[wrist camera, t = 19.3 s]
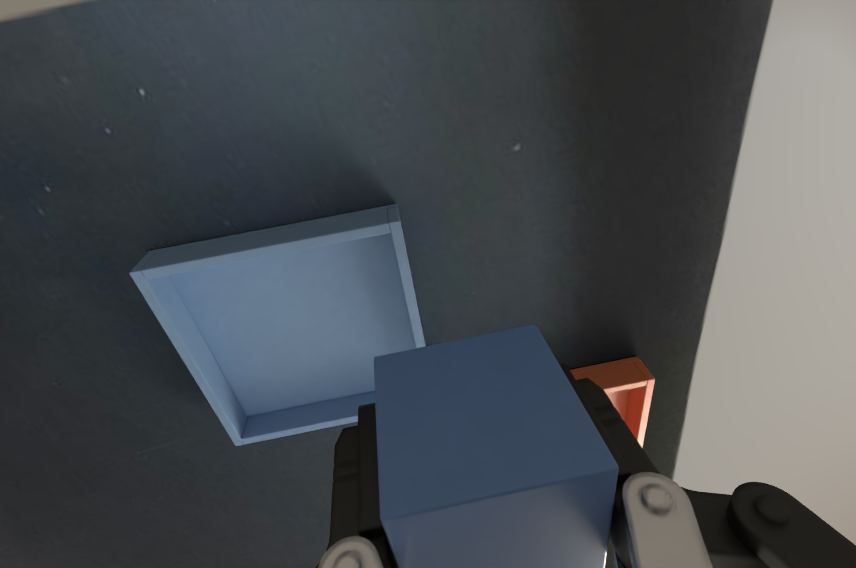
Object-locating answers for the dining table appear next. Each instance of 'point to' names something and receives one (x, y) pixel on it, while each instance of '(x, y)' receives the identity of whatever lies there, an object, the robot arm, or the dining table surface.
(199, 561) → the dining table surface
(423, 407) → the blue block
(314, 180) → the dining table surface
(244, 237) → the blue tray
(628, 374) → the orange tray
